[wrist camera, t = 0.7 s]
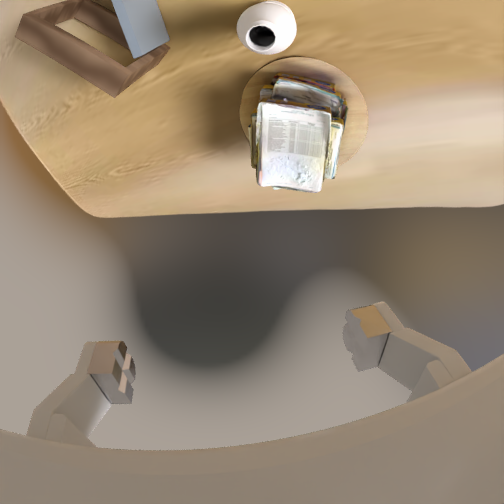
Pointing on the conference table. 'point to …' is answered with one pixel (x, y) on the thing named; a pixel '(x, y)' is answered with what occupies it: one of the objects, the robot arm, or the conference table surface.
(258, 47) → the water bottle
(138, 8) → the door
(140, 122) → the conference table surface
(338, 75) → the yellow stacked packages
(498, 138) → the conference table surface
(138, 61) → the brown wooden frame
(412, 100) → the conference table surface
